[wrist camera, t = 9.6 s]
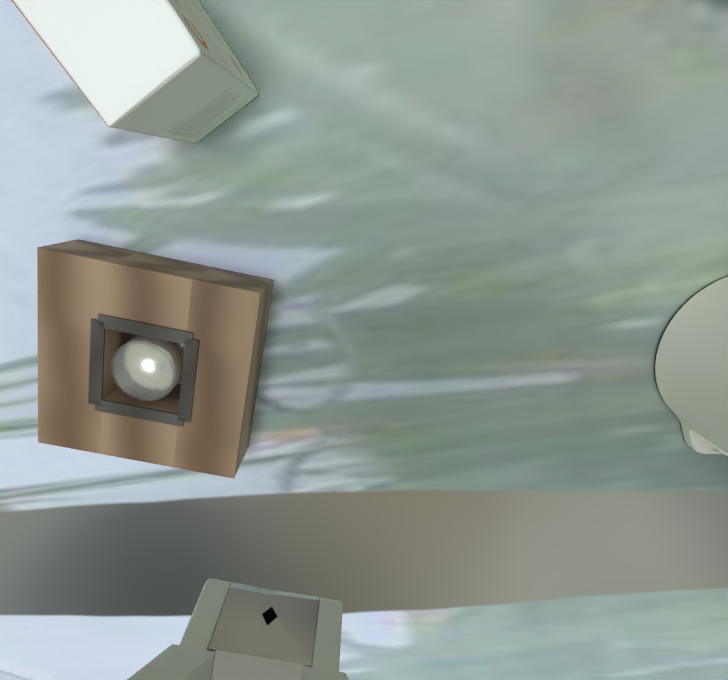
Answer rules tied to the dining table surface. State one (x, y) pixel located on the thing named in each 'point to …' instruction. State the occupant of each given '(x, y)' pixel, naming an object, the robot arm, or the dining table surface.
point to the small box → (145, 62)
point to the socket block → (155, 320)
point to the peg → (148, 367)
